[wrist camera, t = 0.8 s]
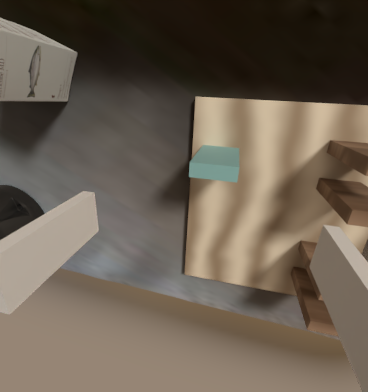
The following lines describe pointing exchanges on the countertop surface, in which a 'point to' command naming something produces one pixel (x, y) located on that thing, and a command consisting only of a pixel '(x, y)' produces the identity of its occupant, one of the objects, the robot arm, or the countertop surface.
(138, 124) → the countertop surface
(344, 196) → the domino
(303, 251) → the domino
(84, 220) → the robot arm
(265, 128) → the birch board
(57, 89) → the supplement box
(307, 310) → the domino
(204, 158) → the domino
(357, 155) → the domino
